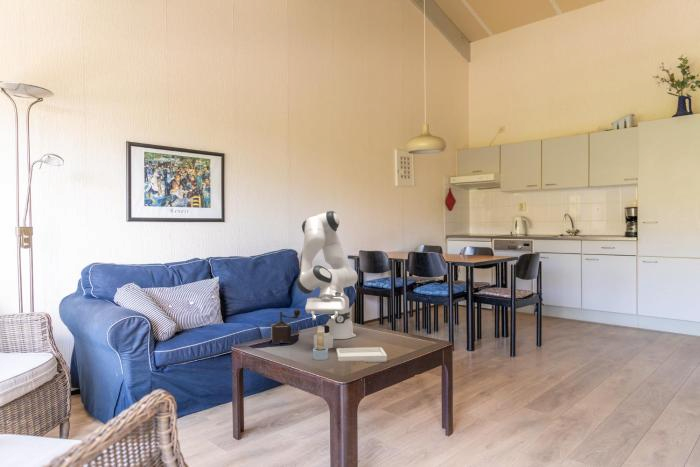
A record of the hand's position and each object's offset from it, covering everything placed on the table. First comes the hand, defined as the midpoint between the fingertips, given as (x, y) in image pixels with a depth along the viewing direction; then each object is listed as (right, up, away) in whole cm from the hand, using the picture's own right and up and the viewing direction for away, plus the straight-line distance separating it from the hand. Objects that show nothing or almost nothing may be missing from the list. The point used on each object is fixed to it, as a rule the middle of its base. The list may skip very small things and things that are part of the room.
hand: (323, 319), depth 222 cm
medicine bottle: (-1, -17, +11) cm, 20 cm away
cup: (-1, -17, -10) cm, 20 cm away
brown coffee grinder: (-22, -17, +28) cm, 40 cm away
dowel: (-1, -16, -10) cm, 19 cm away
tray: (+18, -17, -7) cm, 25 cm away
